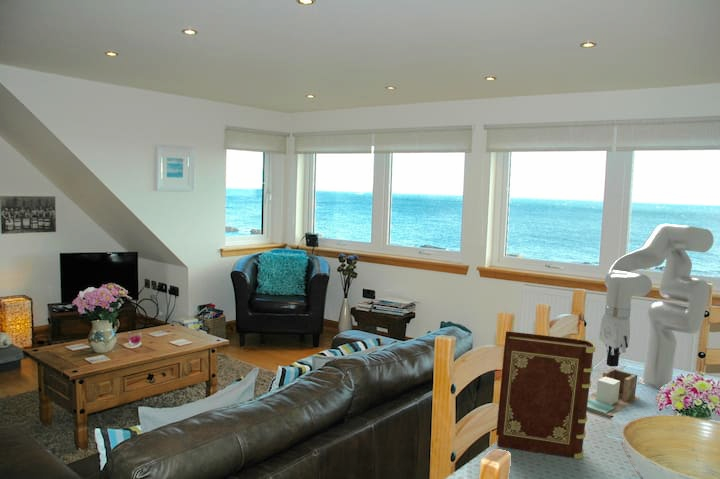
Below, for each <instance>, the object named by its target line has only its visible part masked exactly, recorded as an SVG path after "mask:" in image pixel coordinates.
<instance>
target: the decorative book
mask: <svg viewBox="0 0 720 479" xmlns="http://www.w3.org/2000/svg"><path fill="white" fill-rule="evenodd" d="M504 337H505V338H504V349H503V358H502V359H503V360H502V369H501V370H502V371H501V380H500V390H499V401H498V409H497V410H498V412H497V422H496V431H495V432H496V433H495V436H497V447H500V448H506V449H510V450H511V449H513V450H519V451H525V452H531V453H538V454H544V455H550V456H557V457H558V456H559V457H564V458H565V457H566V458H573V459H576V460H581V459H582V458H583V457H584V454H585V452H584V451H585V449H584V440H585V437H586V433H587V432H586V423H587V421H588V415H587V412H588V411H587V404H588V395H590V394H589V392H590V388H591V386H592V381H591V376H592V372H593V370H594V365H593V360H594V359H593V356H594V353H595V351H596V345H595V344H594V343H593V342H592V341H590V340H586V339H577V338H570V337H569V338H568V337H559V336H553V335H552V336H550V335H544V334H543V335H542V334H534V333H525V332H516V331H505V336H504Z"/></svg>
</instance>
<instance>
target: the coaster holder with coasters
mask: <svg viewBox="0 0 720 479" xmlns="http://www.w3.org/2000/svg"><path fill="white" fill-rule="evenodd" d="M603 377H608V378H612V379H615V380H619V381H620V387H619V396H618V401H617V402H616V403H614V404H612V405H608V404H605V403H602V402H599V401H596V393H597V390H596V391H594V392H592V393H591V394H589V395H588V404H587V412H589V413H593V414H596V415H598V416H601V417H604V418H607V419H612V418H614V414H616V413H618V412H619V411H621V410H622V409H623V410H624V408H626V407H628V406H630V405H631V404H633V403H635V402H636V401H638V400H640V399H641V397H640V396H637V395H636V389H637V383H638V374H633V373H631V372H627V371H623V370H619V369H616V368H614V367H612V368H611V369H608V370H605V371H603V373H602V378H603Z"/></svg>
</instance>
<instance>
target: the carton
mask: <svg viewBox="0 0 720 479" xmlns="http://www.w3.org/2000/svg"><path fill="white" fill-rule="evenodd" d="M619 387H620V381H619V380H615V379H612V378H608V377H603V376H602V377H601V378H599V379H597V384H596V391H597V393H596V401H599V402H602V403H605V404H608V405H612V404H614V403H616V402H617V401H618V396H619Z"/></svg>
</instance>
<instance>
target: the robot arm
mask: <svg viewBox="0 0 720 479" xmlns="http://www.w3.org/2000/svg"><path fill="white" fill-rule="evenodd" d="M714 240H715V239H714V234H713V232H711V230H709V229H707V228H701V227H697V226H694V225H693V226H692V225H682V224H672V223H662V224H659V225H657V226H656V227H655V228H654V229H653V230H652V231H651V233H650V234H649V236H648V237H647V238H646V239H645V241H644V243H643V244H642V246H641V247H640V248H639V249H636V250H634V251H631V252H630V253H627V254H625V255H623V256H621V257H619V258H618V259H616V261H614V263H613V264H612V265H611V267H610V268H609V269H608V271H607V273H606V275H605V279H604V285H605V287H606V296H605V297H606V298H605V306H604V307H605V308H604V312H603V316H602V318H601V322H600V329H599V334H598V335H599V337H598V339H599V340H600V342H601V343H602V344H603V345H605V347H606V353H607V355H606V366H608V367H618V366H619V360H620V356H621V354H625V353H626V352H627V351H626V349H627V348H629V346H630V337H631V336H630V335H631V323H630V322H631V320H630V318H631V308H632V298H633V297H645V296H647V295H648V294H649V293H650V292H651V290H652V288H653V283H652V280H651V278H650V277H649V276H647V275H646V274H642V273H637V272H633V271H636V270H643V269H644V270H645V269H650V268H656V267H659V266H661V265H662V264H664V262H665V266H664V268H663V271H662V277H661V280H660V284H659V289H658V291H659V295H660V296H661V297H663V298H664V299H668V300H670V301H674V302H678V303H679V302H680V303H684V304H688V306H686V305H681V304H677V303H673V302H666V301H655V302H652V303H651V304H650V305H649V306H648V309H647V325H648V329H647V330H648V331H647V339H646V340H647V341H646V349H645V357H644V365H643V366H644V367H643V372H642V373H643V374H642V376H641V377H639V378H638V377H637V383H638V385H642V386H647V387H649V388H653V389H656V390H659V389H660V388H661V387H662V386H663V385H665V384H668V383H669V382H671V381H672V382H673V374H674V368H675V360H676V352H677V343H678V342H677V338H676V335H675V334H674V332H678V333H682V334H686V335H696V334H697V333H699V331H700V330H701V328H702V324H703V322H704V317H705V314H706V310H707V306H708V302H709V299H710V293H711V292H710V291H711V290H710V286H709V283H708V282H707V281H706V280H704V279H701V278H697V277H691V273H692V272H691V271H692V268H693V263H692V260H691V257H690V256H689V254H688V253H687V251H688V252H695V253H702V254H703V253H704V254H705V253H706V252H709V251H710V250H711V249H712V247H713V245H714Z"/></svg>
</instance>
